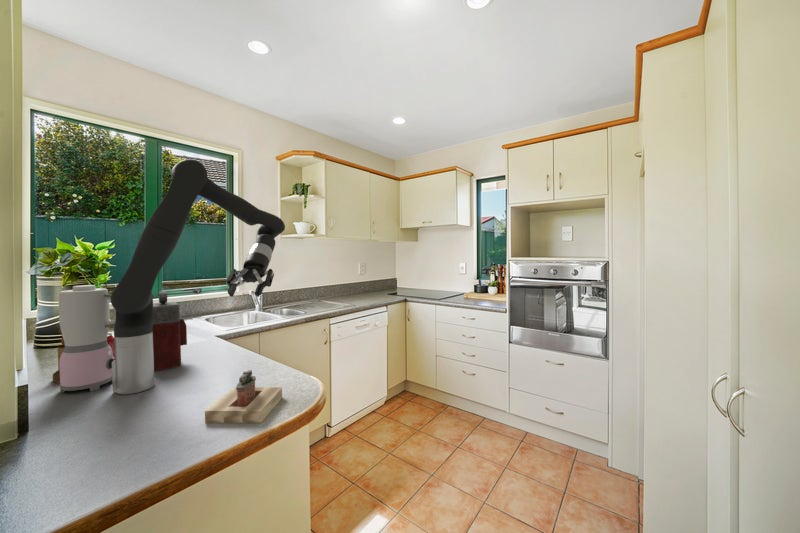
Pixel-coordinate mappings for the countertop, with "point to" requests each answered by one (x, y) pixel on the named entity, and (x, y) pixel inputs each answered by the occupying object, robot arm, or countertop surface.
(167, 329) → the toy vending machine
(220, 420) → the rail
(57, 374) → the mortar and pestle
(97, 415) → the countertop surface
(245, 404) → the lighter
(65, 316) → the blender
